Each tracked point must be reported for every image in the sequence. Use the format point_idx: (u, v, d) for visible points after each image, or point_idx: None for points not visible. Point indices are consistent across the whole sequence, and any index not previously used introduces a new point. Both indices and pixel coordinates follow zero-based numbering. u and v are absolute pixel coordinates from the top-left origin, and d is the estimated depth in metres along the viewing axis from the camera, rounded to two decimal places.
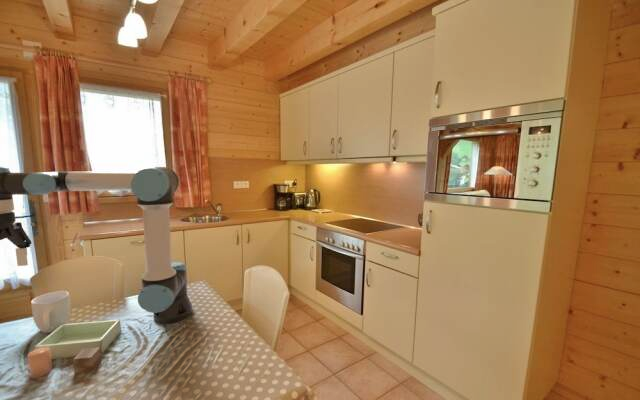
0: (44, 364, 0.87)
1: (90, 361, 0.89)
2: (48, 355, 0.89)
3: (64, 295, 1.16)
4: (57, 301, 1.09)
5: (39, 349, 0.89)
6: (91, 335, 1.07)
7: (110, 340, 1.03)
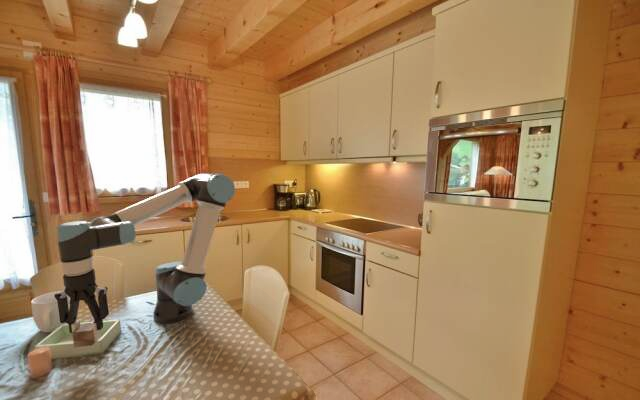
0: (44, 364, 0.87)
1: (90, 335, 0.88)
2: (48, 355, 0.89)
3: None
4: None
5: (39, 349, 0.89)
6: None
7: (110, 340, 1.03)
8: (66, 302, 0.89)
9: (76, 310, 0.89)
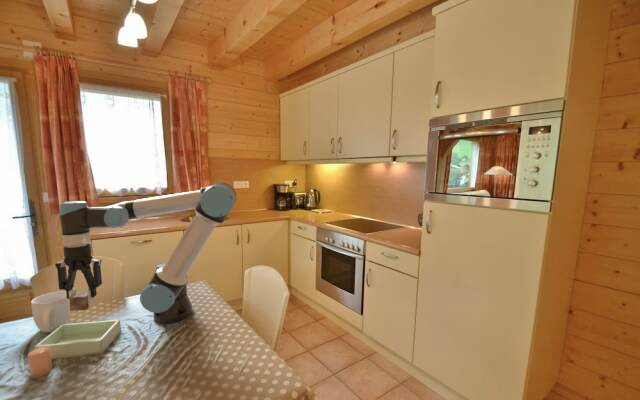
0: (44, 364, 0.87)
1: (84, 300, 1.01)
2: (48, 355, 0.89)
3: (64, 295, 1.16)
4: (57, 301, 1.09)
5: (39, 349, 0.89)
6: (91, 335, 1.07)
7: (110, 340, 1.03)
8: (65, 271, 1.01)
9: (73, 279, 1.02)
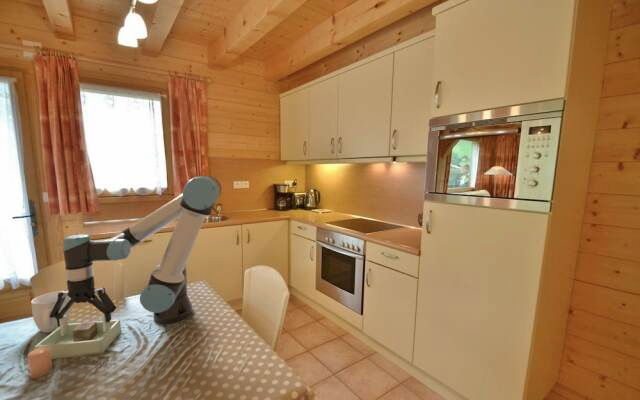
0: (44, 364, 0.87)
1: (87, 333, 1.02)
2: (48, 355, 0.89)
3: None
4: None
5: (39, 349, 0.89)
6: None
7: (110, 340, 1.03)
8: (63, 301, 1.02)
9: (68, 308, 1.03)
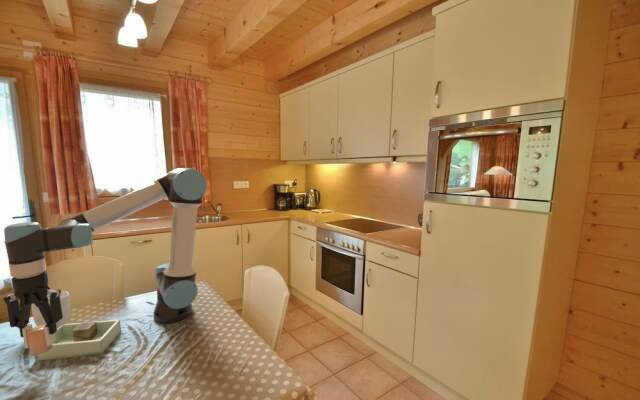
0: (43, 341, 0.87)
1: (87, 333, 1.02)
2: None
3: (64, 295, 1.16)
4: None
5: (38, 327, 0.88)
6: None
7: (110, 340, 1.03)
8: (17, 305, 0.86)
9: (28, 314, 0.87)
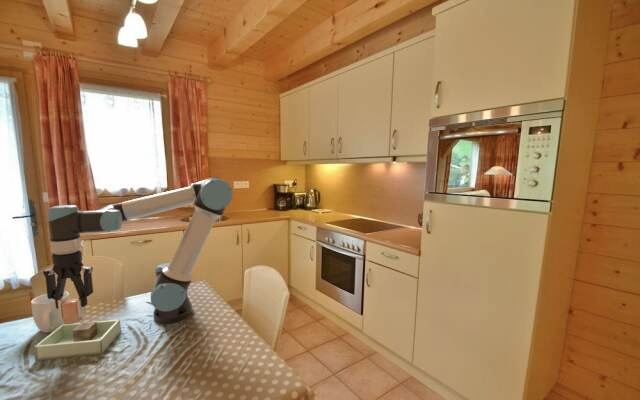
0: (76, 312, 0.97)
1: (87, 333, 1.02)
2: None
3: (64, 295, 1.16)
4: None
5: (71, 300, 0.98)
6: None
7: (110, 340, 1.03)
8: (54, 279, 0.96)
9: (63, 287, 0.97)
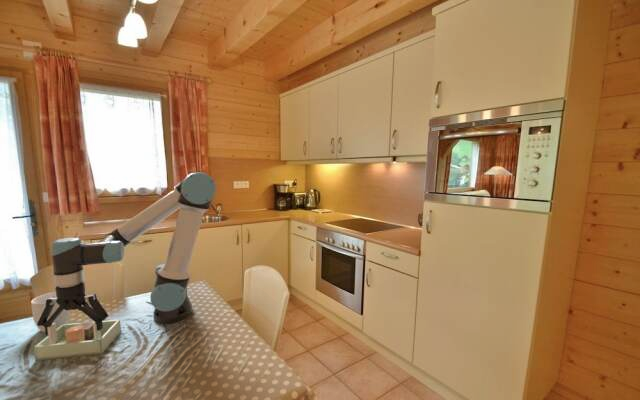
0: (79, 340, 0.98)
1: (87, 333, 1.02)
2: (83, 332, 0.99)
3: None
4: None
5: (74, 327, 1.00)
6: None
7: (110, 340, 1.03)
8: (51, 308, 0.97)
9: (57, 316, 0.97)
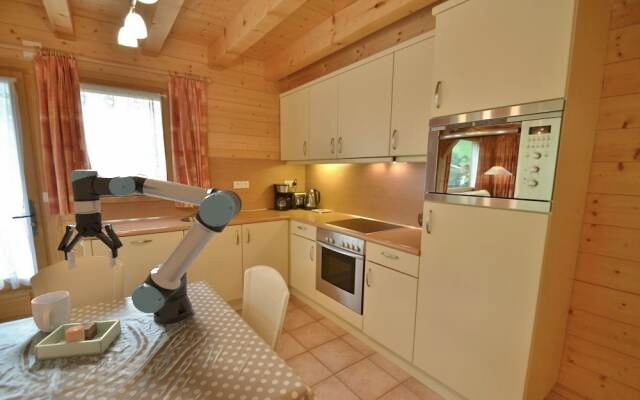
0: (79, 340, 0.98)
1: (87, 333, 1.02)
2: (83, 332, 0.99)
3: (64, 295, 1.16)
4: (57, 301, 1.09)
5: (74, 327, 1.00)
6: None
7: (110, 340, 1.03)
8: (70, 235, 1.04)
9: (75, 243, 1.04)
